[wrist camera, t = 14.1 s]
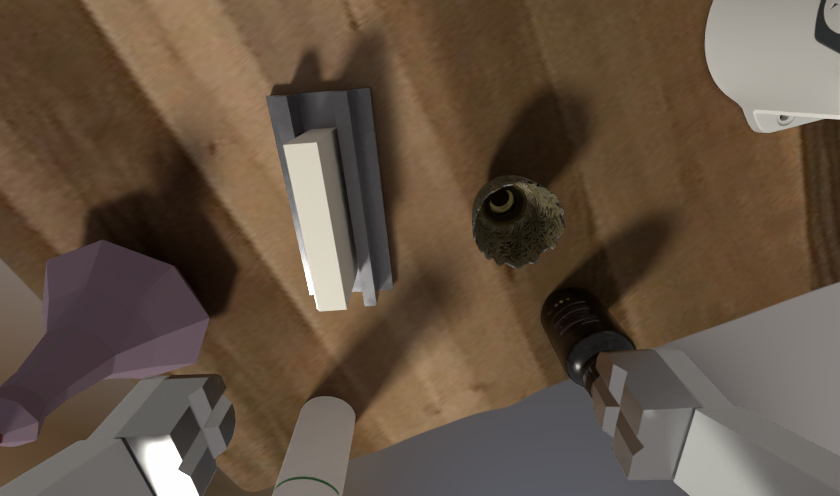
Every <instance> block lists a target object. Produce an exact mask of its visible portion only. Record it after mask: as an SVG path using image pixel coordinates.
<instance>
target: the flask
mask: <svg viewBox="0 0 840 496" xmlns="http://www.w3.org/2000/svg"><path fill="white" fill-rule="evenodd" d="M42 315H43V321H44V327H45V333H46V334H45V335H44V337H43V338H42V340H41V341H40V342H39V343H38V345H37V346H36V347H35V349H34V350H33V351H32V352H31V354H30V355H29V356H28V358H27V359H26V360H25V361H24V363H23V364H22V365H21V367H20V368H19V369H18V371H17V372H16V373H15V374H14V375H12V376H11V377H10V378H9V379H8V380H7V381H6V382H5V383H4V384H2V385H1V386H0V446H11V447H12V446H13V447H14V446H19V445H22V444H25V443H28V442H32V441H35V440H37V438H38V435H39V433H40V430H41V428H42V425H43V422H44V419H45V417H46V416H47V415H49V414H50V413H51V412H52V411H53V410H55V409H56V408H57V407H59V406H60V405H61V404H62V403H64V402H65V401H66V400H68V399H70V398H71V397H73V396H75V395H76V394H78V393H80V392H82V391H83V390H85V389H87V388H89V387H90V386H92V385H94V384H96V383H97V382H99V381H101V380H103V379H113V378H147V377H149V376H156V375H159V374H162V373H165V372H169V371H172V370H175V369H178V368H181V367H185V366H188V365H191V364H194V363H196V362H197V359H198V355H199V352H200V349H201V345H202V342H203V339H204V335H205V332H206V329H207V325H208V322H209V319H210V318H209V316H208V314H207V313H206V311H205V309H204V307H203V306H202V304H201V302H200V301H199V299H198V297H197V296H196V294H195V293H194V291H193V290H192V288H191V287H190V285H189V284H188V282H187V281H186V280H185V278H184V277H183V275H182V274H181V272H180V271H179V270H178V268H177V267H175V266H173V265H170V264H167V263H165V262H162V261H159V260H156V259H154V258H151V257H148V256H146V255H143V254H140V253H138V252H135V251H132V250H129V249H127V248H124V247H121V246H119V245H116V244H113V243H110V242H108V241H105V240H100V241H98V242H95V243H92V244H90V245H87V246H84V247H82V248H79V249H76V250H74V251H71V252H68V253H66V254H63V255H60V256H58V257H55V258H52V259H50V260H47V261H46V272H45V283H44V294H43V306H42Z"/></svg>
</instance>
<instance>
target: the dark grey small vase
mask: <svg viewBox="0 0 840 496" xmlns="http://www.w3.org/2000/svg"><path fill="white" fill-rule="evenodd" d="M502 190H503V191H505V192H506V193H507V194H508V201H507V203H506V204H504V205H503V206H496V205H495V204H494V203H493V202H492V197H493V195H494V194H496V193H497V192H499V191H502ZM558 201H559V199H558V197H557V196H556V195H555V194H554V193H552V191H550V190H549V189H548V188H546V187H544V186H542V185H540V184H538V183H536V182H534V181H532V180H530V179H527V178H525V177H521V176H516V175H505V176H500V177H497V178H495V179H493V180H491V181H489V182H488V183H487V184H485V185H484V186H483V187H482V188H481V190H480V191H479V192H478V194H477V196H476V198H475V201H474V204H473V209H472V225H473V238H474V239H475V240H476V244H477V246H478V248H479V250H480V252H483V255H484V256H485V257H486V258H487V259H488V260H490V259H492V258H494V260H495V261H496V263H497V265H499V266H501V265H502V264H504V263H506V264H508V265H509V266H511V267H513V268H517V269H518V268H521V267H523V266H525V265H526V264H527V263H530V264H537V263H538V262H539V259H540V256H539V254H540V253H542V252H545V250H546V249H547V248H548V247H551V249H554V248H555V247H556V246H557V244H558V240H557V238H559V237H560V236H561V235H562V234H563V232H564V230H565V224H564V220H563V218H562V215H563V214H564V212H565V211H564V209H563V208H562V207H561V206H560V205H559V204H558V203H557V202H558ZM561 214H562V215H561ZM538 256H539V258H538Z"/></svg>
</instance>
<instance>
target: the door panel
mask: <svg viewBox="0 0 840 496" xmlns="http://www.w3.org/2000/svg"><path fill="white" fill-rule="evenodd" d="M283 147H284V151H285V156H286V161H287V165H288V170H289V175H290V179H291V184H292V189H293V193H294V198H295V203H296V207H297V212H298V217H299V221H300V226H301V231H302V235H303V240H304V245H305V249H306V254H307V259H308V263H309V268H310V273H311V277H312V282H313V286H314V291H315V296H316V300H317V305H318V310H319V311H332V310H347V307H348V303H349V300H350V296H351V293H352V289H353V286H354V283H355V279H356V276H357V272H358V269H359V266H358V260H357V253H356V247H355V241H354V234H353V228H352V221H351V215H350V209H349V202H348V196H347V189H346V183H345V176H344V170H343V164H342V157H341V151H340V144H339V138H338V131H337V127H334V128H321V129H311V130H309V131H307V132H305V133H303V134H302V135H300V136H298V137H296V138H295V139H293V140H291V141H289V142H288V143H286V144H284V145H283Z"/></svg>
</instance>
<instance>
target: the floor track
mask: <svg viewBox="0 0 840 496" xmlns="http://www.w3.org/2000/svg"><path fill="white" fill-rule="evenodd" d="M266 99H267V104H268V108H269V113H270V117H271V122H272V126H273V131H274V135H275V140H276V144H277V149H278V153H279V158H280V162H281V167H282V171H283V176H284V180H285V185H286V190H287V194H288V199H289V203H290V208H291V212H292V217H293V221H294V226H295V230H296V235H297V239H298V244H299V248H300V253H301V257H302V262H303V266H304V271H305V275H306V280H307V284H308V289H309V293H310V295H314V297H315V301H316V306H317V310H318V305H317V300H316V296H315V291H314V286H313V282H312V277H311V273H310V268H309V263H308V259H307V254H306V249H305V245H304V240H303V235H302V231H301V226H300V221H299V217H298V212H297V207H296V203H295V198H294V193H293V189H292V184H291V179H290V175H289V170H288V165H287V161H286V156H285V151H284V147H283V145H284V144H286V143H288V142H289V141H291V140H293V139H295V138H296V137H298V136H300V135H302V134H303V133H305V132H307V131H309V130H311V129H321V128H334V127H337V131H338V138H339V144H340V151H341V157H342V164H343V170H344V176H345V183H346V189H347V196H348V202H349V209H350V215H351V221H352V228H353V234H354V241H355V247H356V253H357V260H358V266H359V269H358V272H357V276H356V279H355V283H354V286H353V289H352V292H360V291H362V292H363V298H364V305H365V306H377V300H378V295H379V290H389V289H393V286H394V283H393V275H392V266H391V257H390V249H389V240H388V232H387V223H386V214H385V206H384V197H383V188H382V180H381V171H380V163H379V154H378V145H377V137H376V128H375V120H374V111H373V102H372V94H371V88H359V89H346V90H333V91H321V92H308V93H296V94H283V95H271V96H266Z"/></svg>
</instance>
